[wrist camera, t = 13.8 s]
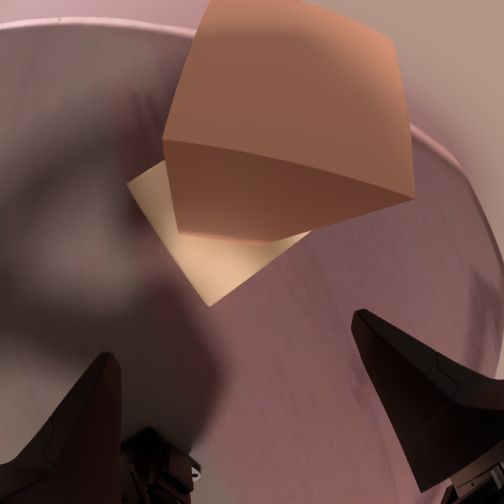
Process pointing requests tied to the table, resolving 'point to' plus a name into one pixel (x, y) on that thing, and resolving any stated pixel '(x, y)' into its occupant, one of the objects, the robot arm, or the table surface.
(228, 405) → the table surface
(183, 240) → the birch block
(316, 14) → the terracotta post
